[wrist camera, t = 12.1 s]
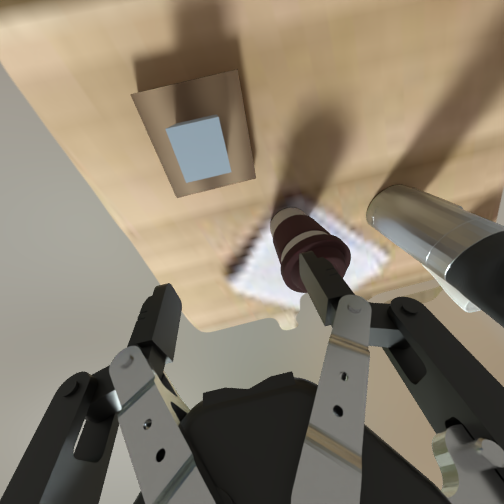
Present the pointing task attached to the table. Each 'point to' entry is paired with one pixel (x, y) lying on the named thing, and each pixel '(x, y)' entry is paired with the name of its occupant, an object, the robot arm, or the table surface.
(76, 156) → the table surface
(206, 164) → the block
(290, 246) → the coffee cup
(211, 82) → the base
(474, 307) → the cup
